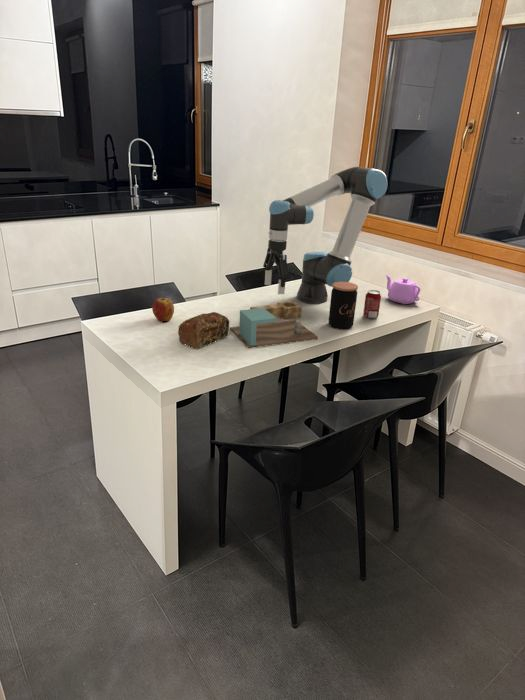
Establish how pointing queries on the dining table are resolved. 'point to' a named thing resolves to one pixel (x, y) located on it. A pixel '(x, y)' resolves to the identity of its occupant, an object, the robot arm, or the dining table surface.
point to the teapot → (402, 290)
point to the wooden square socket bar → (283, 310)
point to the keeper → (253, 323)
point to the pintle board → (278, 333)
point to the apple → (163, 309)
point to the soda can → (372, 304)
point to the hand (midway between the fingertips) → (274, 289)
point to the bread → (203, 329)
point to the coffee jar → (342, 305)
